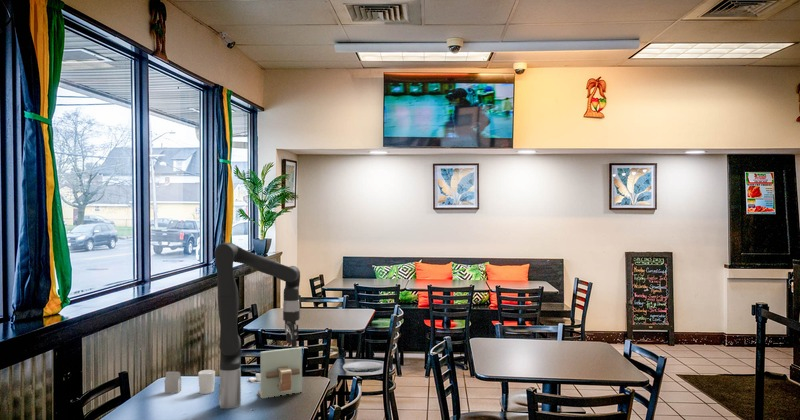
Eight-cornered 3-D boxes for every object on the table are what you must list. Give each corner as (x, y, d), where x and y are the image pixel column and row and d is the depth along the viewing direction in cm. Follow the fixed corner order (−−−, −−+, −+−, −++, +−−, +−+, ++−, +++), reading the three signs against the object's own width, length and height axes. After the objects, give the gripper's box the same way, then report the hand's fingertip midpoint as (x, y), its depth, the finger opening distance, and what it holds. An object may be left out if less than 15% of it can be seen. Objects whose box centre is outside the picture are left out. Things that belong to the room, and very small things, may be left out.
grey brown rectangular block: (178, 393, 278) (178, 373, 278) (164, 393, 278) (164, 372, 278) (181, 390, 282) (181, 370, 282) (168, 390, 282) (168, 370, 282)
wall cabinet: (292, 392, 266) (292, 371, 266) (281, 393, 264) (281, 372, 264) (287, 386, 274) (287, 366, 274) (277, 387, 272) (277, 367, 272)
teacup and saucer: (246, 382, 297) (246, 374, 297) (256, 378, 304) (256, 370, 304) (259, 384, 293) (259, 376, 293) (269, 380, 300) (269, 372, 300)
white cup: (217, 389, 283) (217, 369, 283) (210, 394, 275) (210, 374, 275) (202, 389, 284) (202, 369, 284) (195, 394, 276) (195, 373, 276)
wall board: (303, 393, 275) (303, 349, 276) (262, 400, 266) (262, 353, 267) (297, 388, 285) (297, 344, 285) (257, 393, 276) (257, 349, 276)
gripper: (279, 308, 263) (279, 342, 263) (287, 312, 250) (287, 349, 250) (294, 306, 266) (295, 341, 266) (303, 311, 254) (303, 347, 254)
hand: (291, 344), depth 258 cm, fingers open, 8 cm apart
